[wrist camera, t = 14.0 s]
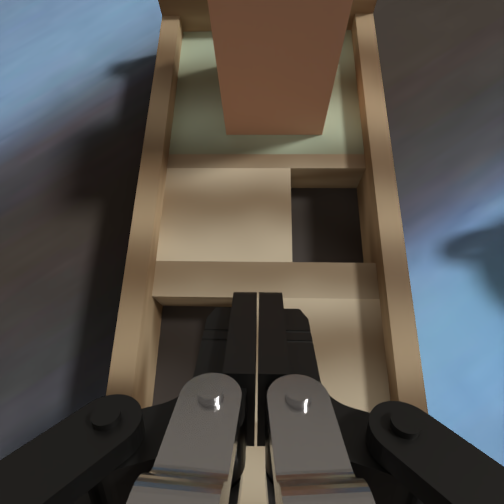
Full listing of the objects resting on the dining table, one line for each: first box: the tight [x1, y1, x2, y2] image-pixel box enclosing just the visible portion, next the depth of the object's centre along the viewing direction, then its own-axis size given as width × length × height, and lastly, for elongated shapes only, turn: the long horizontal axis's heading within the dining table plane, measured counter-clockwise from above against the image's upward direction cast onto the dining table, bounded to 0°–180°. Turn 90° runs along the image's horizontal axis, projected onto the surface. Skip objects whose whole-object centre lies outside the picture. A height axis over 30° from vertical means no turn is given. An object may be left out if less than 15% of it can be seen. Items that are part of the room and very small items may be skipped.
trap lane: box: [106, 0, 428, 504], centre depth 20 cm, size 38×14×5 cm, turn 179°
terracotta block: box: [207, 0, 353, 135], centre depth 20 cm, size 6×6×9 cm
